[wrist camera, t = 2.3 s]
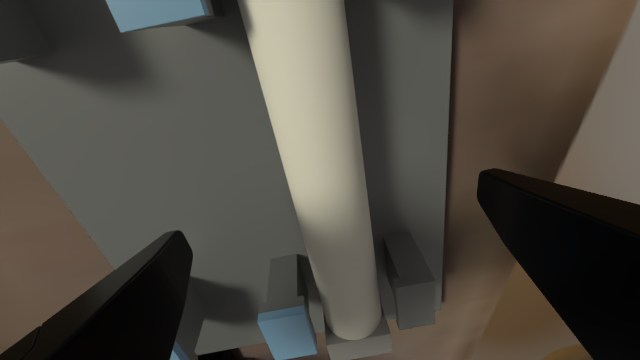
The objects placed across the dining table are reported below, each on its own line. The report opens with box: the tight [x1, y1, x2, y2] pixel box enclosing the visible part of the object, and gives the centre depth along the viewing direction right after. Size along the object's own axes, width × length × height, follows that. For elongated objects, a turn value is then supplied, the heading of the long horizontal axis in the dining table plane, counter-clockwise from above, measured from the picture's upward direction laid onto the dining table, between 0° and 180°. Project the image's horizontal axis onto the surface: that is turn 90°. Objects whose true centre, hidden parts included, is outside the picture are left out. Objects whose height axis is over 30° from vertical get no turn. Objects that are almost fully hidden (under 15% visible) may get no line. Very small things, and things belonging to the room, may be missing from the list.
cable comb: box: [0, 0, 453, 360], centre depth 11 cm, size 17×25×4 cm
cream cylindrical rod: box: [237, 0, 392, 360], centre depth 11 cm, size 21×3×3 cm, turn 10°
